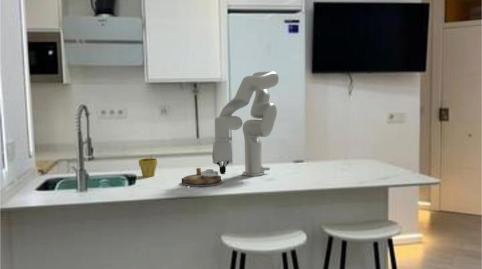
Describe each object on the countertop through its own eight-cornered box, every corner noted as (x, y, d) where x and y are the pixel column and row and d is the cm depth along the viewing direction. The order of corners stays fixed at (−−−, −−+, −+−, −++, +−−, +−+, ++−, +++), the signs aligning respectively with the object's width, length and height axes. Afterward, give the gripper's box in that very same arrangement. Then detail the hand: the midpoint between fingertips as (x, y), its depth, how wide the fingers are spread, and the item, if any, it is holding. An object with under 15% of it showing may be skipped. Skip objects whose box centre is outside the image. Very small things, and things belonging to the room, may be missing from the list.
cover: (215, 174, 268) (215, 167, 267) (219, 177, 259) (219, 170, 259) (199, 176, 265) (199, 168, 265) (203, 179, 256) (202, 171, 256)
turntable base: (217, 177, 275) (217, 172, 274) (227, 185, 254) (227, 179, 253) (178, 180, 268) (178, 174, 268) (185, 188, 247) (185, 182, 247)
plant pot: (153, 178, 277) (153, 160, 276) (136, 177, 279) (135, 160, 278) (160, 174, 287) (159, 158, 286) (143, 174, 290) (143, 157, 289)
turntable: (216, 176, 273) (215, 166, 273) (225, 182, 254) (225, 172, 254) (180, 178, 268) (180, 169, 267) (187, 185, 249) (186, 175, 248)
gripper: (233, 138, 268) (234, 171, 270) (206, 140, 263) (207, 173, 265) (237, 140, 261) (238, 174, 262) (210, 141, 256) (210, 176, 258)
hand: (222, 173), depth 264 cm, fingers closed
